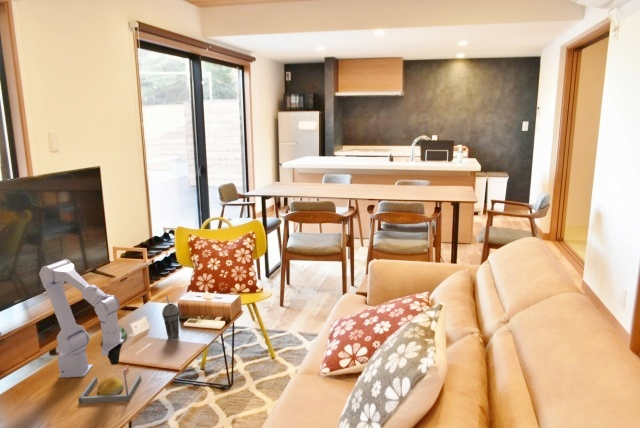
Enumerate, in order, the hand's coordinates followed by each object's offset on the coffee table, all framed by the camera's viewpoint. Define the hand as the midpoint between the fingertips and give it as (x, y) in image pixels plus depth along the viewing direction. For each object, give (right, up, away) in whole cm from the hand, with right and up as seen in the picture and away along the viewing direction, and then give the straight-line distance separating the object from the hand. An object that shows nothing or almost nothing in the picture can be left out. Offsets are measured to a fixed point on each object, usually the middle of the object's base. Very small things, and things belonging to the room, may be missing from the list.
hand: (115, 363), depth 174 cm
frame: (0, -8, -4) cm, 9 cm away
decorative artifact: (-15, -1, +34) cm, 37 cm away
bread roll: (0, -9, -3) cm, 9 cm away
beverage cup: (+11, 0, +35) cm, 36 cm away
